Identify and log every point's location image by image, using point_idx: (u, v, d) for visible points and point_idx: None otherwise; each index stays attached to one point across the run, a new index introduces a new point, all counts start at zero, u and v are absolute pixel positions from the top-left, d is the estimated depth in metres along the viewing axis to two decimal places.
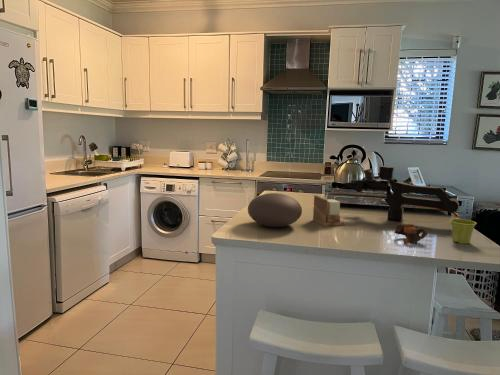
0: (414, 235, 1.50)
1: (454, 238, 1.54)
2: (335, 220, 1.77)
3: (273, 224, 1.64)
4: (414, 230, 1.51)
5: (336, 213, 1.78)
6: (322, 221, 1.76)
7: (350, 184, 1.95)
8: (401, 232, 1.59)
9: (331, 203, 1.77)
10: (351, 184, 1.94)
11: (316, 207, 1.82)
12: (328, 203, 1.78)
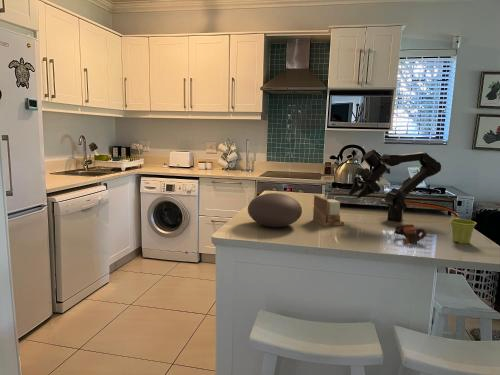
0: (414, 235, 1.50)
1: (454, 238, 1.54)
2: (335, 220, 1.77)
3: (273, 224, 1.64)
4: (414, 230, 1.51)
5: (336, 213, 1.78)
6: (322, 221, 1.76)
7: (362, 193, 1.78)
8: (401, 232, 1.58)
9: (331, 203, 1.77)
10: (363, 192, 1.78)
11: (316, 207, 1.82)
12: (328, 203, 1.78)
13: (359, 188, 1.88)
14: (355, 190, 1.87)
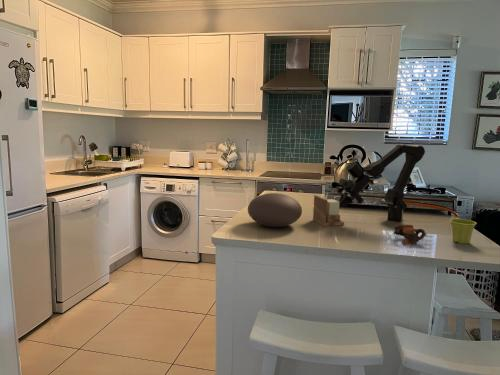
0: (413, 236, 1.49)
1: (454, 238, 1.54)
2: (335, 220, 1.77)
3: (273, 224, 1.64)
4: (413, 231, 1.50)
5: (335, 213, 1.78)
6: (322, 221, 1.76)
7: (341, 203, 1.81)
8: (400, 233, 1.58)
9: (330, 203, 1.77)
10: (342, 202, 1.81)
11: (316, 207, 1.82)
12: (327, 203, 1.78)
13: None
14: None
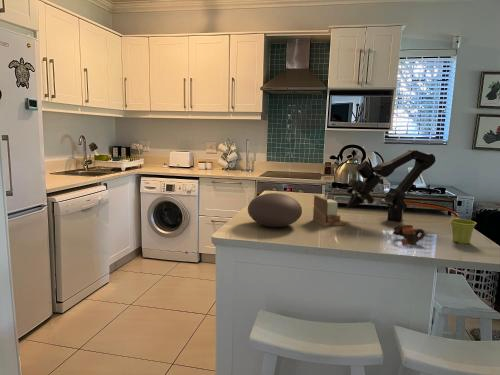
0: (413, 236, 1.49)
1: (454, 238, 1.54)
2: (335, 220, 1.77)
3: (273, 224, 1.64)
4: (413, 231, 1.50)
5: (334, 213, 1.78)
6: (322, 221, 1.76)
7: (352, 203, 1.82)
8: (399, 233, 1.57)
9: (329, 203, 1.76)
10: (353, 203, 1.82)
11: (316, 207, 1.82)
12: None
13: None
14: None
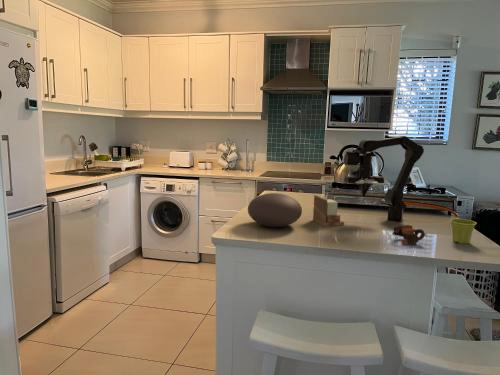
0: (413, 236, 1.49)
1: (454, 238, 1.54)
2: (335, 220, 1.77)
3: (273, 224, 1.64)
4: (412, 231, 1.49)
5: (334, 213, 1.78)
6: (322, 221, 1.76)
7: (361, 191, 1.86)
8: (399, 233, 1.57)
9: (329, 203, 1.76)
10: (360, 190, 1.86)
11: (316, 207, 1.82)
12: None
13: (366, 185, 1.84)
14: None
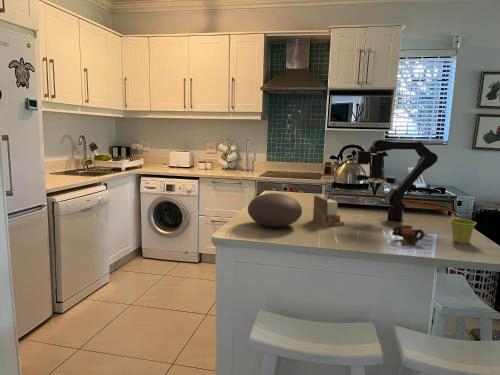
0: (412, 236, 1.48)
1: (454, 238, 1.54)
2: (335, 220, 1.77)
3: (273, 224, 1.64)
4: (412, 231, 1.49)
5: (334, 213, 1.78)
6: (322, 221, 1.76)
7: None
8: (398, 233, 1.56)
9: (329, 203, 1.76)
10: None
11: (316, 207, 1.82)
12: None
13: (376, 184, 1.87)
14: None
